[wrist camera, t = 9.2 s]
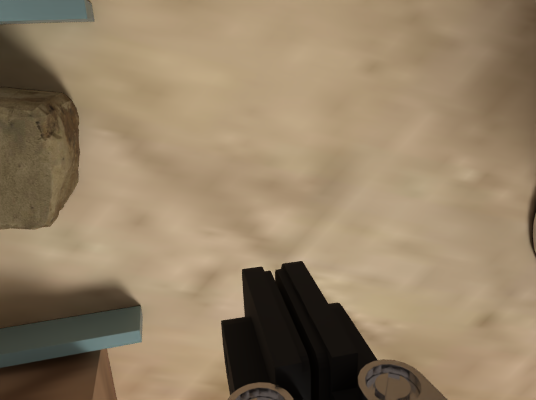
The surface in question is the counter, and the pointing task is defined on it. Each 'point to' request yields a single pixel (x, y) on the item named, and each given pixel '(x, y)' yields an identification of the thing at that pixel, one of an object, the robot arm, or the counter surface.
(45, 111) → the stone block
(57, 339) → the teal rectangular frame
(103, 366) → the block with knob
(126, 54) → the counter surface
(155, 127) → the counter surface
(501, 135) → the counter surface
